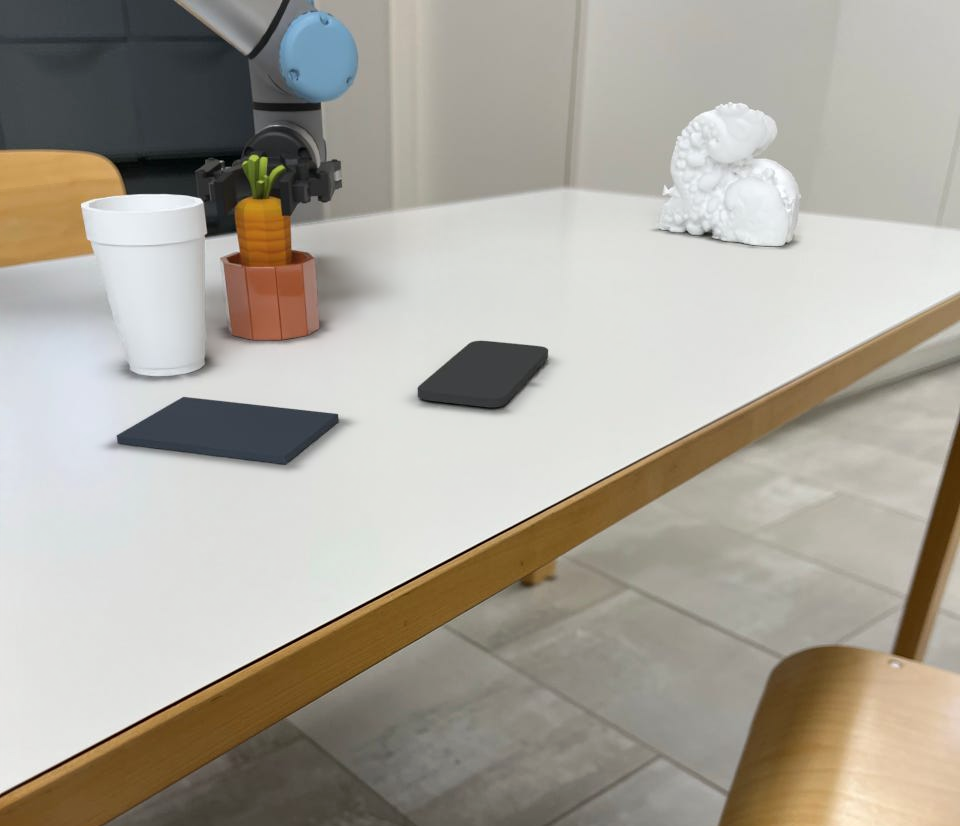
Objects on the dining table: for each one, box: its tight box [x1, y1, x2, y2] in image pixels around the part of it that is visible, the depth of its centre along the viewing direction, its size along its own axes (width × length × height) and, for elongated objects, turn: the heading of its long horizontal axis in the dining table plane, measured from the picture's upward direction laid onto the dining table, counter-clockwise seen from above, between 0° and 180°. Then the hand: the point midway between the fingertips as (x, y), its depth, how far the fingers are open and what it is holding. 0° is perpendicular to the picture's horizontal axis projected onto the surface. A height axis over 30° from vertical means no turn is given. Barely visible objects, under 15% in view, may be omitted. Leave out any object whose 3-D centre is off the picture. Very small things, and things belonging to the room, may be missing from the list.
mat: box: [116, 396, 340, 465], centre depth 74 cm, size 13×9×1 cm
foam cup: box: [80, 193, 208, 377], centre depth 85 cm, size 10×9×13 cm
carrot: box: [234, 155, 293, 266], centre depth 95 cm, size 5×5×15 cm
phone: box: [417, 340, 549, 408], centre depth 85 cm, size 7×1×15 cm
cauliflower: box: [657, 101, 802, 247], centre depth 139 cm, size 19×20×20 cm
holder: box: [219, 249, 320, 341], centre depth 97 cm, size 8×9×6 cm
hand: (252, 198), depth 88 cm, fingers closed on carrot, 5 cm apart
